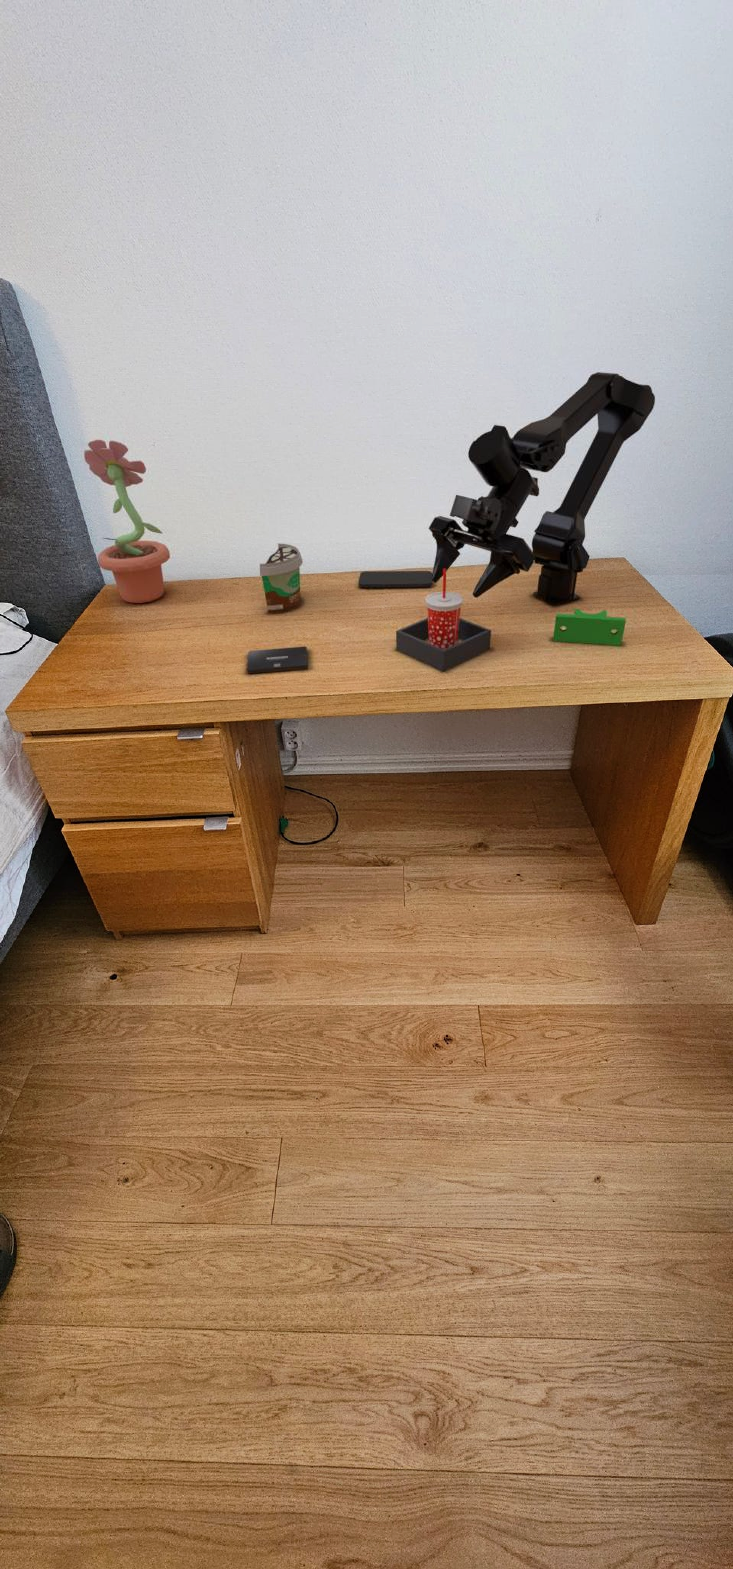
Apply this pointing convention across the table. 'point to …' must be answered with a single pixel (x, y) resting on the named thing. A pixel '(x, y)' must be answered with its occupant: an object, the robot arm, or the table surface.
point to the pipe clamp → (589, 628)
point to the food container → (282, 579)
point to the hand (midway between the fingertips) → (453, 588)
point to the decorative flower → (130, 557)
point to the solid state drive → (277, 659)
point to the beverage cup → (443, 616)
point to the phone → (395, 579)
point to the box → (414, 646)
